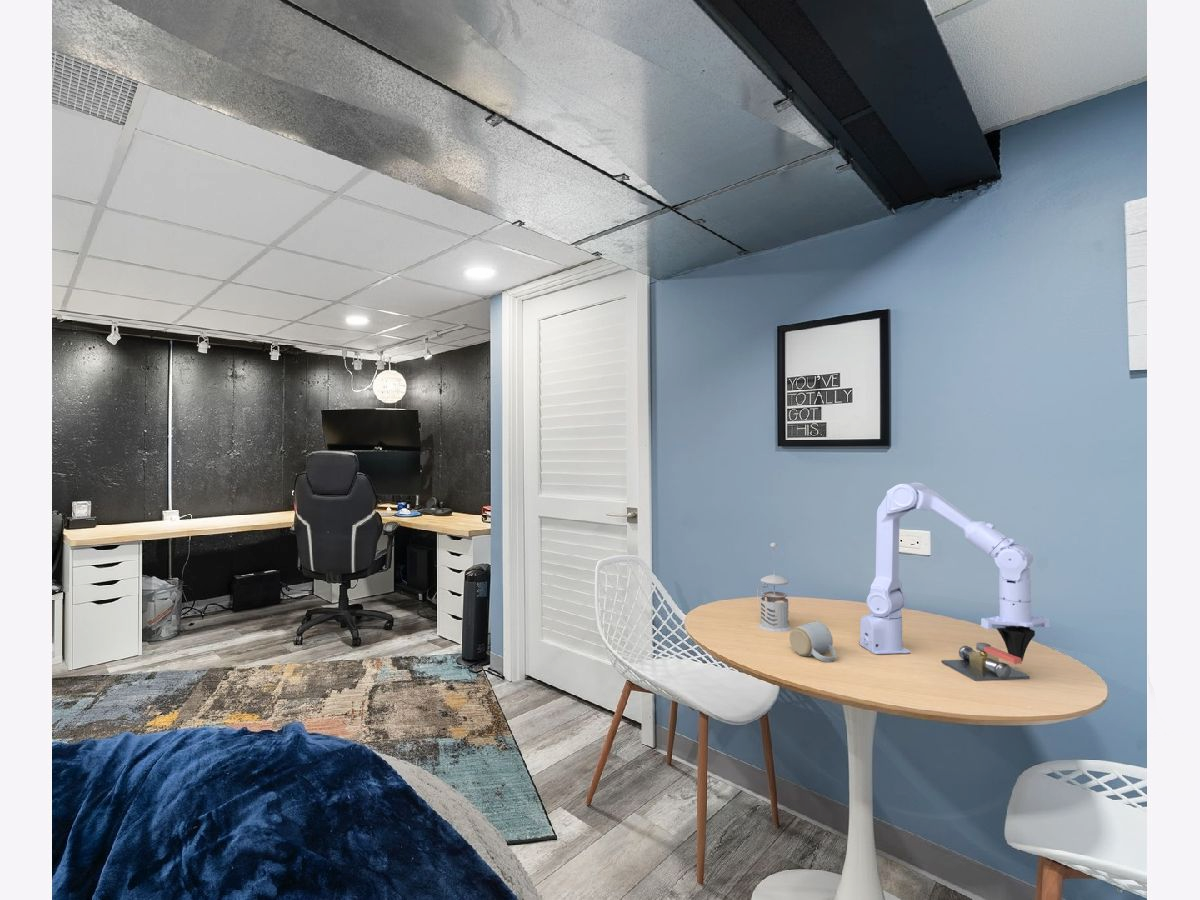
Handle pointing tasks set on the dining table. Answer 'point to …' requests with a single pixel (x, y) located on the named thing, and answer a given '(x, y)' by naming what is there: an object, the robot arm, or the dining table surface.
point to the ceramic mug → (813, 641)
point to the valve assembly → (983, 666)
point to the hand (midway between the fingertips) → (1016, 660)
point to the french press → (774, 605)
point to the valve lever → (998, 653)
